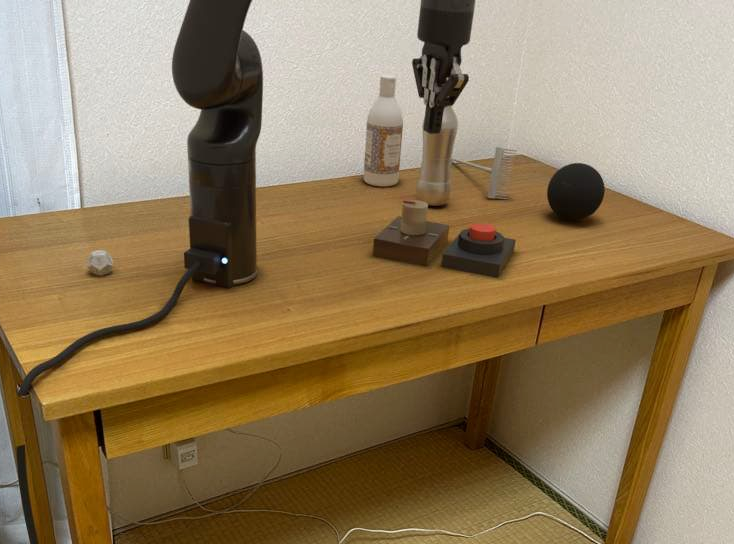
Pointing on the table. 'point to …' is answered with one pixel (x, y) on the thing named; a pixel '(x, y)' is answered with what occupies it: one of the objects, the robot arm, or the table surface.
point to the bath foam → (383, 137)
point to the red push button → (482, 232)
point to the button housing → (478, 254)
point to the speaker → (575, 191)
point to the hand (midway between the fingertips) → (431, 132)
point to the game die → (100, 262)
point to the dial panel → (410, 243)
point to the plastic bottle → (437, 161)
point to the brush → (495, 171)
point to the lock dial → (414, 217)
